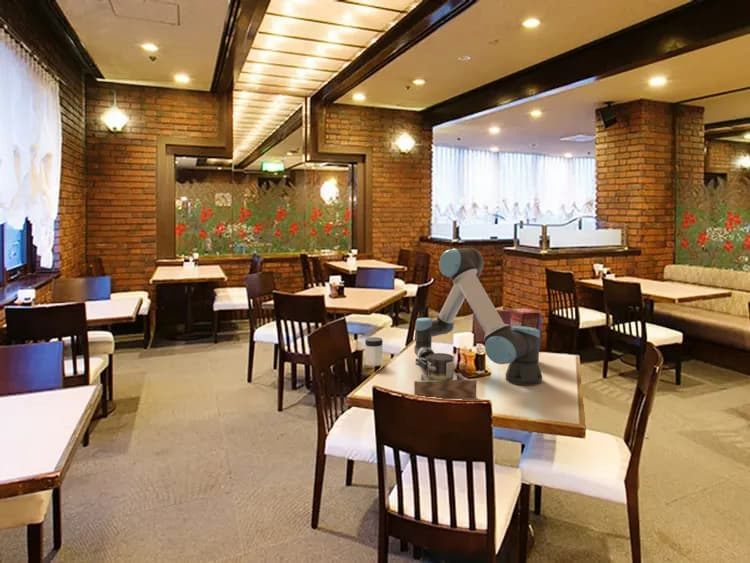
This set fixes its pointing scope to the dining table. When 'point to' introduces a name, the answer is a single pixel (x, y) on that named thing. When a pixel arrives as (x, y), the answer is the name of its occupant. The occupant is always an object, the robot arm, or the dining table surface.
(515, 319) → the food packaging
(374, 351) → the jar
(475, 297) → the robot arm
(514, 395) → the dining table surface
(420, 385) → the walnut dock
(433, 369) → the coffee can
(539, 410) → the dining table surface
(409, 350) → the dining table surface
